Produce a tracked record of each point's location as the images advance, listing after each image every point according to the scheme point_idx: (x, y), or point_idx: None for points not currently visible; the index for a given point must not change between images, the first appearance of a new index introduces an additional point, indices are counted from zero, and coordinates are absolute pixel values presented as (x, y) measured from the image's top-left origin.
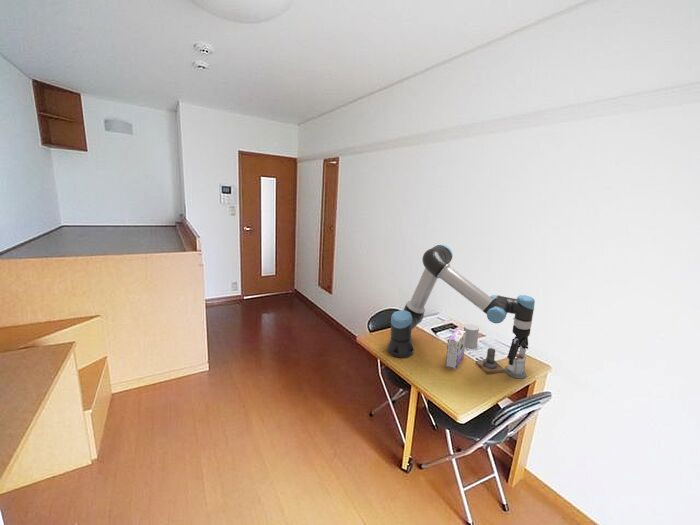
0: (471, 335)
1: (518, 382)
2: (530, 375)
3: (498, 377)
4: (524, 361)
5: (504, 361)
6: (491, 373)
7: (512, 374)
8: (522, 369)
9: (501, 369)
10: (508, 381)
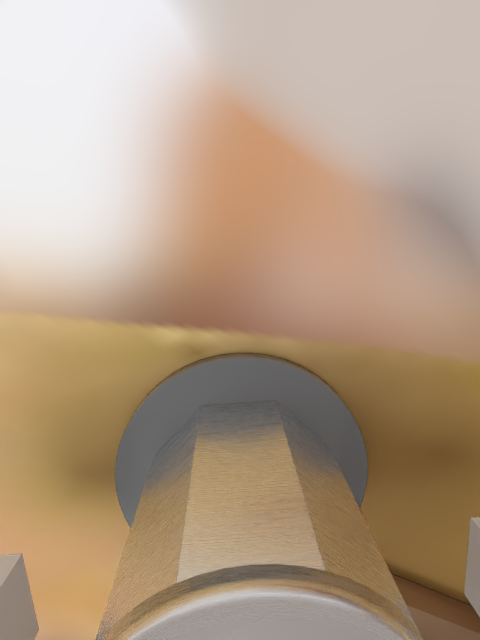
0: None
1: (411, 362)
2: (144, 334)
3: None
4: (289, 578)
5: None
6: (460, 604)
7: None
8: (280, 449)
9: None
10: (472, 438)
